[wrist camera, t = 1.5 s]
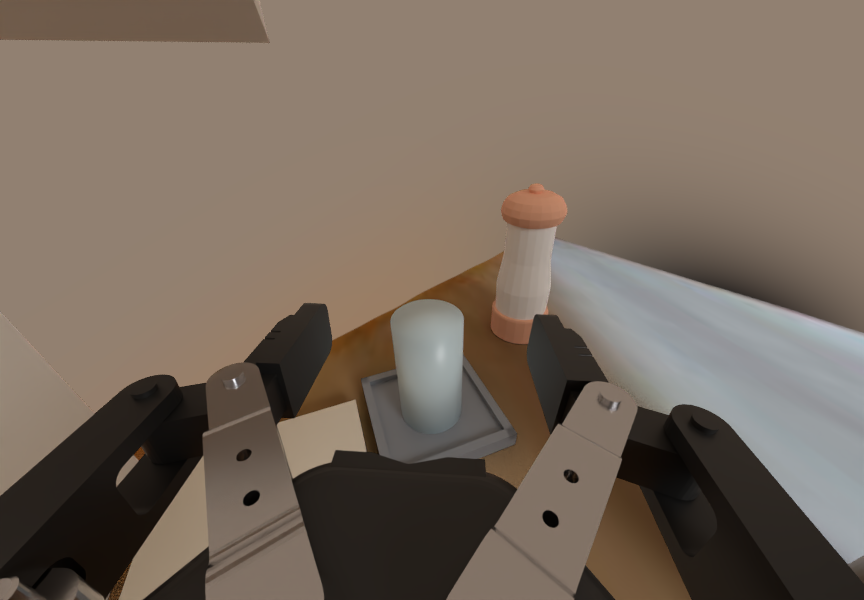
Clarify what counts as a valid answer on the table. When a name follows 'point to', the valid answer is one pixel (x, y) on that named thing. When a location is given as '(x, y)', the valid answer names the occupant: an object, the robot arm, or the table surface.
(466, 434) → the tray
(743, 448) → the robot arm
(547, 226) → the pepper shaker
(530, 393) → the table surface
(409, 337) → the pale grey cylinder
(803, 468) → the table surface
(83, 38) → the white c-shaped stand
